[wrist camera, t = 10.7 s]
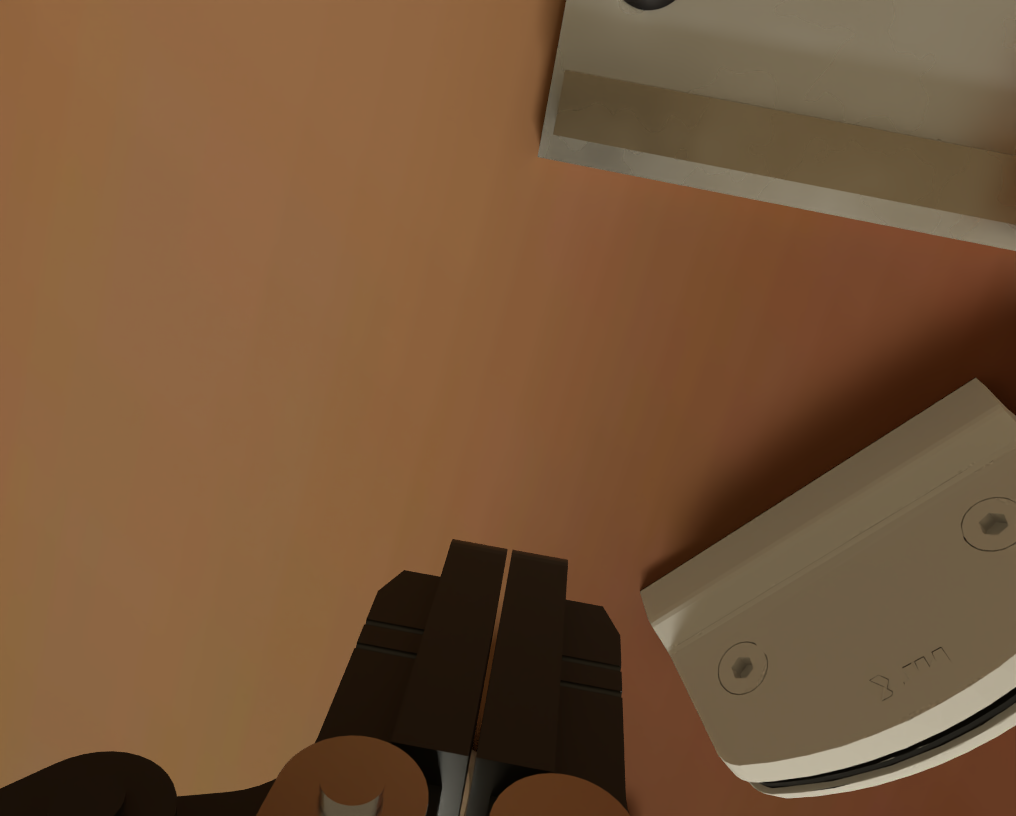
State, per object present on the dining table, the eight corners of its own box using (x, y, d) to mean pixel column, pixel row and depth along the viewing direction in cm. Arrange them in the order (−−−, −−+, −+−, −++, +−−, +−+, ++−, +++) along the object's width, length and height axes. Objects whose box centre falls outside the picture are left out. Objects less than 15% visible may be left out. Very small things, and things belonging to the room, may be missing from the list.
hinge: (985, 371, 33) (1179, 568, 25) (1029, 439, 35) (1219, 639, 27) (632, 596, 38) (696, 817, 30) (691, 642, 40) (765, 858, 32)
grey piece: (540, 153, 32) (526, 169, 27) (592, -129, 28) (586, -169, 23) (1065, 256, 31) (1147, 292, 26) (1185, -22, 27) (1305, -41, 22)
